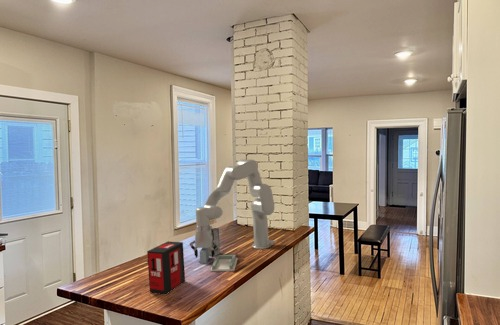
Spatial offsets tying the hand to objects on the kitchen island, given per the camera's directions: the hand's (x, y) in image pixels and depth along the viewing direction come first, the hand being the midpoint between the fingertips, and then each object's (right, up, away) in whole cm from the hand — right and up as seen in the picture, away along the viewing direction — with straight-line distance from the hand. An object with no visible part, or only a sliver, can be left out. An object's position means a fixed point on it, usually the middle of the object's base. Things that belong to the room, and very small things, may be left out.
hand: (204, 256), depth 203 cm
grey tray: (+13, -2, -10) cm, 16 cm away
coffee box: (+3, -2, +12) cm, 12 cm away
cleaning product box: (-13, -5, -36) cm, 39 cm away
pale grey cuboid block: (0, -2, 0) cm, 2 cm away
